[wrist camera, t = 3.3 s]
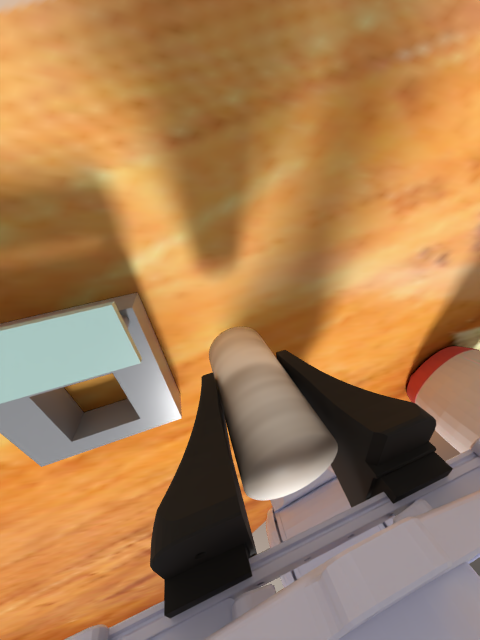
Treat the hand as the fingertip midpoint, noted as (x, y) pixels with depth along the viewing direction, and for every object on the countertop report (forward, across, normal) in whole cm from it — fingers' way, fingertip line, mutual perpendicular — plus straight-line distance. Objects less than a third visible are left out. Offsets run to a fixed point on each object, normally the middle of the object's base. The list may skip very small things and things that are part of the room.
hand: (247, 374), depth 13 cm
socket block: (+8, +12, +2) cm, 15 cm away
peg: (+2, 0, 0) cm, 2 cm away
